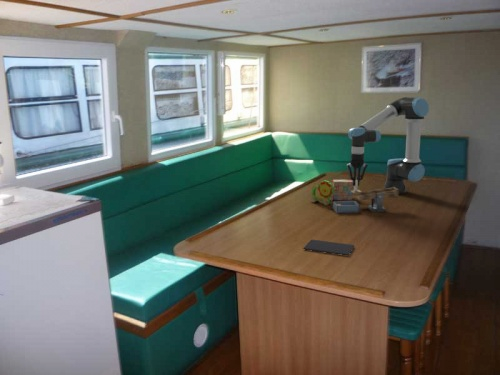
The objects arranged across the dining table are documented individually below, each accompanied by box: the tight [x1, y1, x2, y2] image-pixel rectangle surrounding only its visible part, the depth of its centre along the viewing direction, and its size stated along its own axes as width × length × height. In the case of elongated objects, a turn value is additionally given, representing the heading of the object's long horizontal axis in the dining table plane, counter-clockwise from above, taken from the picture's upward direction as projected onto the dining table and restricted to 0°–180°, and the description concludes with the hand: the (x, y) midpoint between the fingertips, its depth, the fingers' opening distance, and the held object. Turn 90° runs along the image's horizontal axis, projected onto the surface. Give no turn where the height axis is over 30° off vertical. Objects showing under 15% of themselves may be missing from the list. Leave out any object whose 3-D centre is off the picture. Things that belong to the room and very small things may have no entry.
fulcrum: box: [367, 189, 387, 213], centre depth 274 cm, size 8×11×11 cm
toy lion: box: [310, 179, 334, 206], centre depth 289 cm, size 16×5×15 cm, turn 47°
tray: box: [332, 200, 361, 214], centre depth 273 cm, size 14×10×4 cm
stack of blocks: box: [318, 179, 354, 201], centre depth 300 cm, size 21×6×12 cm, turn 85°
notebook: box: [302, 239, 355, 256], centre depth 213 cm, size 13×2×21 cm
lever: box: [351, 187, 400, 201], centre depth 278 cm, size 24×17×5 cm
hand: (355, 190), depth 283 cm, fingers closed
